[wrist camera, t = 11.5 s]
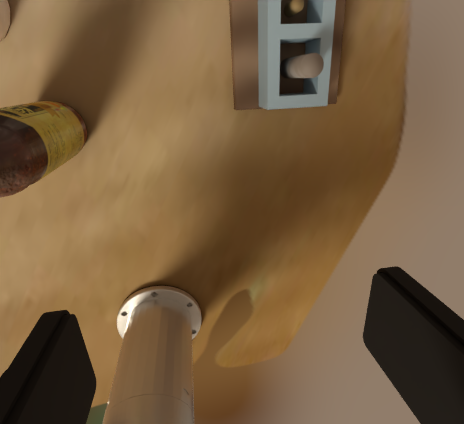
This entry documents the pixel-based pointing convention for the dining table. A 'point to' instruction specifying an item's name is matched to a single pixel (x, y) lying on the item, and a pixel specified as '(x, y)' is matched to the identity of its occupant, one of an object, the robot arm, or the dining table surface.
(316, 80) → the hollow blue brick
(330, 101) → the post block
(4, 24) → the bottle
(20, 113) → the sauce bottle
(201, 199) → the dining table surface
